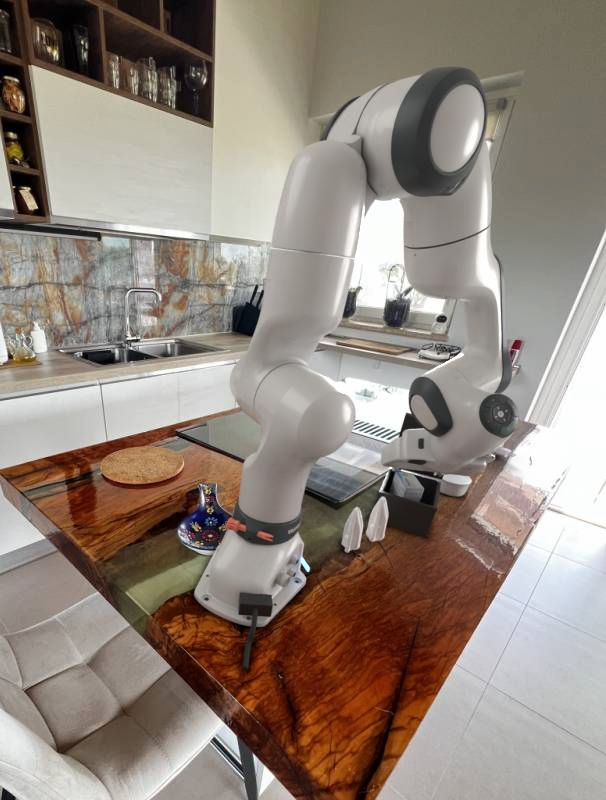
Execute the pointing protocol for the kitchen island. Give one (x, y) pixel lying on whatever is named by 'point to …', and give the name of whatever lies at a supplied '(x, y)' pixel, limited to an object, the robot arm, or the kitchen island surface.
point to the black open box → (411, 505)
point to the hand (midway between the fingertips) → (415, 470)
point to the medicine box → (406, 486)
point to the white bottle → (502, 451)
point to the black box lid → (413, 424)
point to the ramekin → (454, 484)
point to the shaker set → (374, 526)
